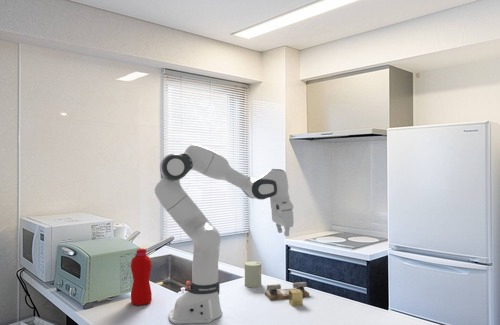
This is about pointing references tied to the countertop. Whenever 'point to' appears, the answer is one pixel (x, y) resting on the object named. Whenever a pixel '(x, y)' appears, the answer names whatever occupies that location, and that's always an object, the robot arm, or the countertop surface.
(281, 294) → the shaft mount
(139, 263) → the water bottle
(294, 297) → the block
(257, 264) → the can
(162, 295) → the countertop surface
